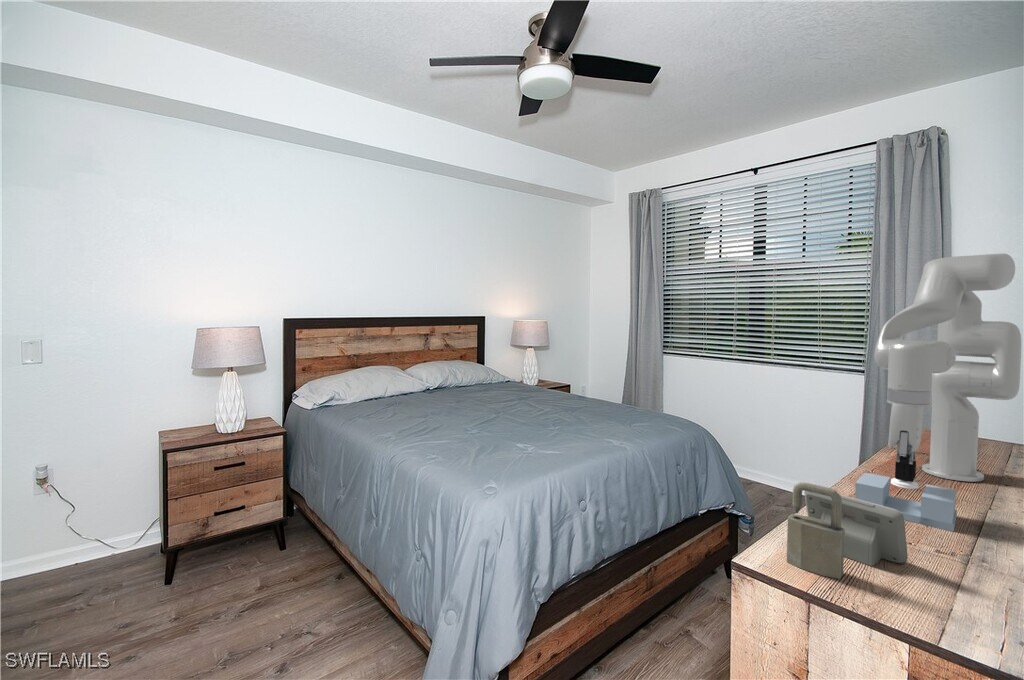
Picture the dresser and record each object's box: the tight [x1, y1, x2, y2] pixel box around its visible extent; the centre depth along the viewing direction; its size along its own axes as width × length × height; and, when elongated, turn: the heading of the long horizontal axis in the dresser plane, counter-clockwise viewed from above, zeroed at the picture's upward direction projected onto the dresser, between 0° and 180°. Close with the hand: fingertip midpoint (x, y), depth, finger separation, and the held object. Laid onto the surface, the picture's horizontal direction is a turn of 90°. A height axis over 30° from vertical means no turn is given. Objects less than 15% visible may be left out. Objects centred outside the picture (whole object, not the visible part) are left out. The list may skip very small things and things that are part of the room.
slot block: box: [854, 472, 958, 533], centre depth 107 cm, size 10×17×6 cm, turn 44°
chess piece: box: [890, 447, 920, 490], centre depth 107 cm, size 5×5×10 cm
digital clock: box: [803, 491, 909, 567], centre depth 90 cm, size 16×9×11 cm, turn 24°
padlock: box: [786, 481, 845, 580], centre depth 84 cm, size 4×8×15 cm, turn 44°
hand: (905, 477), depth 107 cm, fingers closed on chess piece
